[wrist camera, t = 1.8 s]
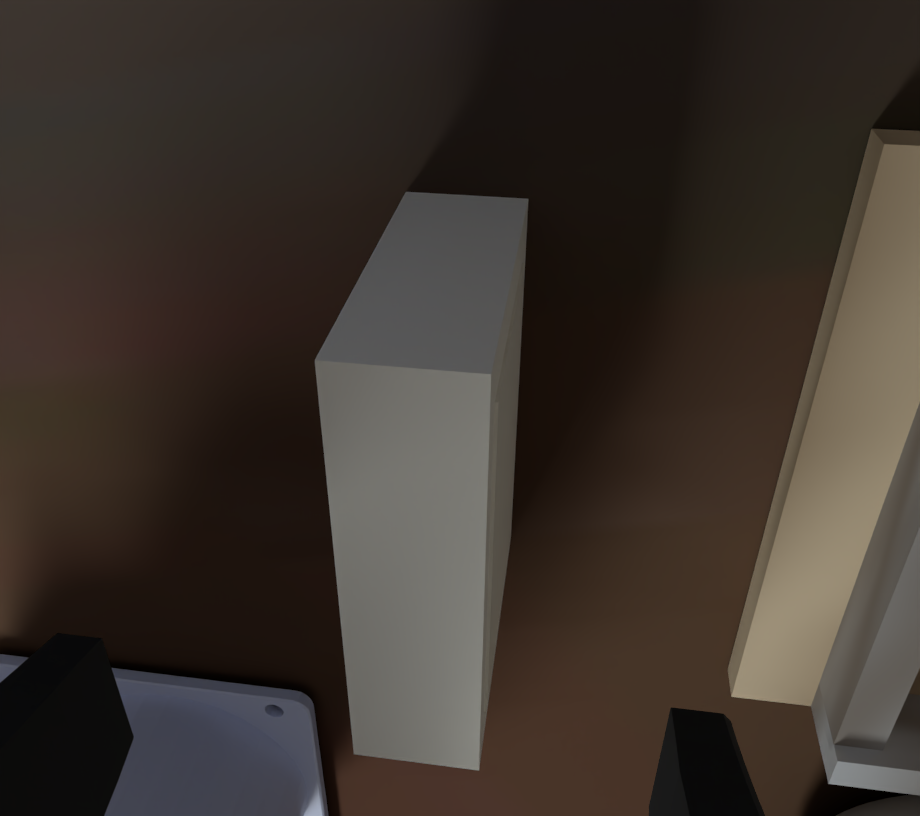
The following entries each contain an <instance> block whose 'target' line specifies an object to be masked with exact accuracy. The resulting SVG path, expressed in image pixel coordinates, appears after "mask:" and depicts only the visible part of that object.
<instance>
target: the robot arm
mask: <svg viewBox="0 0 920 816" xmlns="http://www.w3.org/2000/svg"><path fill="white" fill-rule="evenodd" d="M0 816H329V815H328V807H327V800H326V793H325V785H324V778H323V770H322V763H321V755H320V748H319V741H318V733H317V726H316V718H315V711H314V704H313V702H312V700H311V699H310V698H309V697H308V696H307V695H306V694H304V693H302V692H299V691H295V690H288V689H280V688H272V687H264V686H256V685H248V684H240V683H231V682H223V681H215V680H207V679H199V678H191V677H183V676H175V675H167V674H159V673H151V672H142V671H134V670H126V669H118V668H111V665H110V662H109V659H108V656H107V653H106V650H105V647H104V644H103V641H102V638H94V637H85V636H77V635H69V634H61V633H57V634H56V635H55V636H54V637H52V638H51V639H50V640H49V641H48V642H47V643H45V644H44V645H43V646H42V647H41V648H40V649H38V650H37V651H36V652H35V653H34V654H32V655H31V656H30V657H21V656H13V655H5V654H0ZM649 816H765V814H764V812H763V810H762V807H761V805H760V802H759V800H758V797H757V795H756V792H755V789H754V787H753V784H752V782H751V779H750V776H749V774H748V771H747V768H746V766H745V763H744V760H743V757H742V754H741V751H740V748H739V745H738V743H737V740H736V736H735V733H734V730H733V727H732V723H731V721H730V720H729V719H728V718H727V717H726V716H725V715H724V714H720V713H712V712H704V711H696V710H687V709H679V708H671V709H670V714H669V718H668V723H667V728H666V732H665V737H664V741H663V746H662V750H661V755H660V759H659V764H658V768H657V773H656V777H655V782H654V786H653V791H652V796H651V800H650V805H649Z"/></svg>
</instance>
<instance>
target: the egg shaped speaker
mask: <svg viewBox="0 0 920 816" xmlns="http://www.w3.org/2000/svg"><path fill="white" fill-rule="evenodd" d="M836 816H920V795H904V796H897V797H891V798H885V799H880V800H877V801H873V802H869V803H866V804H863V805H859V806H856V807H854V808H851V809H849V810H846V811H844V812H842V813H840V814H838V815H836Z"/></svg>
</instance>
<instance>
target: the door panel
mask: <svg viewBox="0 0 920 816" xmlns="http://www.w3.org/2000/svg"><path fill="white" fill-rule="evenodd" d="M527 219H528V199H524V198H507V197H489V196H472V195H454V194H436V193H419V192H405V194H404V196H403V198H402V200H401V202H400V203H399V205H398V207H397V209H396V211H395V213H394V214H393V216H392V218H391V220H390V222H389V224H388V226H387V227H386V229H385V231H384V233H383V235H382V237H381V238H380V240H379V242H378V244H377V246H376V248H375V250H374V251H373V253H372V255H371V257H370V259H369V261H368V263H367V264H366V266H365V268H364V270H363V272H362V274H361V275H360V277H359V279H358V281H357V283H356V285H355V287H354V288H353V290H352V292H351V294H350V296H349V298H348V299H347V301H346V303H345V305H344V307H343V309H342V311H341V312H340V314H339V316H338V318H337V320H336V322H335V323H334V325H333V327H332V329H331V331H330V333H329V335H328V336H327V338H326V340H325V342H324V344H323V346H322V348H321V349H320V351H319V353H318V355H317V357H316V359H315V369H316V379H317V390H318V400H319V410H320V420H321V430H322V440H323V450H324V460H325V470H326V480H327V490H328V500H329V510H330V520H331V530H332V540H333V550H334V560H335V570H336V580H337V590H338V600H339V610H340V620H341V630H342V640H343V650H344V660H345V670H346V680H347V690H348V700H349V711H350V721H351V731H352V741H353V751H354V754H357V755H364V756H372V757H380V758H387V759H395V760H403V761H410V762H418V763H425V764H433V765H441V766H448V767H456V768H464V769H471V770H479V767H480V759H481V752H482V745H483V738H484V730H485V723H486V716H487V708H488V701H489V694H490V687H491V679H492V672H493V665H494V657H495V650H496V643H497V636H498V628H499V621H500V614H501V607H502V599H503V592H504V585H505V577H506V570H507V563H508V556H509V548H510V541H511V527H512V508H513V489H514V469H515V450H516V431H517V412H518V392H519V373H520V354H521V334H522V315H523V296H524V276H525V257H526V238H527Z"/></svg>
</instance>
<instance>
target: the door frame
mask: <svg viewBox="0 0 920 816" xmlns="http://www.w3.org/2000/svg"><path fill="white" fill-rule="evenodd" d="M728 675H729V682H730V690H731V697H738V698H747V699H755V700H764V701H772V702H781V703H789V704H798V705H806V706H811V709H812V713H813V717H814V722H815V726H816V731H817V735H818V740H819V744H820V749H821V753H822V758H823V762H824V767H825V771H826V775H827V780H828V784H833V785H841V786H849V787H857V788H865V789H873V790H880V791H888V792H896V793H904V794H912V795H920V131H910V130H888V129H871V132H870V136H869V140H868V144H867V147H866V151H865V155H864V159H863V162H862V166H861V170H860V174H859V177H858V181H857V185H856V189H855V193H854V196H853V200H852V204H851V208H850V211H849V215H848V219H847V223H846V226H845V230H844V234H843V238H842V241H841V245H840V249H839V253H838V257H837V260H836V264H835V268H834V272H833V275H832V279H831V283H830V287H829V290H828V294H827V298H826V302H825V305H824V309H823V313H822V317H821V320H820V324H819V328H818V332H817V336H816V339H815V343H814V347H813V351H812V354H811V358H810V362H809V366H808V369H807V373H806V377H805V381H804V384H803V388H802V392H801V396H800V399H799V403H798V407H797V411H796V415H795V418H794V422H793V426H792V430H791V433H790V437H789V441H788V445H787V448H786V452H785V456H784V460H783V463H782V467H781V471H780V475H779V479H778V482H777V486H776V490H775V494H774V497H773V501H772V505H771V509H770V512H769V516H768V520H767V524H766V527H765V531H764V535H763V539H762V542H761V546H760V550H759V554H758V558H757V561H756V565H755V569H754V573H753V576H752V580H751V584H750V588H749V591H748V595H747V599H746V603H745V606H744V610H743V614H742V618H741V621H740V625H739V629H738V633H737V637H736V640H735V644H734V648H733V652H732V655H731V659H730V663H729V667H728Z"/></svg>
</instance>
